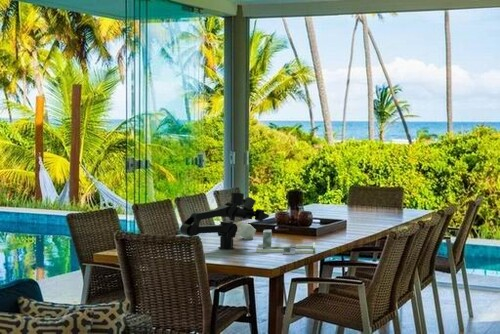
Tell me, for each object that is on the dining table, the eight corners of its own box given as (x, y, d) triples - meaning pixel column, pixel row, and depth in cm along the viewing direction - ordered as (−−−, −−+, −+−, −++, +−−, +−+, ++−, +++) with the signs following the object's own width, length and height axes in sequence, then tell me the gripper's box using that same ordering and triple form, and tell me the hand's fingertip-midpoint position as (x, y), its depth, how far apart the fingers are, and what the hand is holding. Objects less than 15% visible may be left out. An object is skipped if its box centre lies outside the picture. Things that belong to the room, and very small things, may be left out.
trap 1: (282, 254, 439) (282, 254, 439) (283, 252, 445) (283, 252, 445) (294, 254, 438) (294, 254, 438) (295, 253, 444) (295, 252, 444)
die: (250, 238, 499) (240, 224, 499) (261, 232, 494) (250, 217, 493) (244, 245, 492) (233, 231, 492) (254, 239, 487) (244, 224, 486)
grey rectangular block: (262, 251, 450) (263, 232, 449) (263, 248, 460) (264, 229, 459) (290, 252, 449) (290, 232, 448) (290, 249, 459) (290, 230, 458)
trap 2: (284, 247, 463) (284, 246, 463) (284, 245, 469) (284, 244, 469) (295, 247, 463) (295, 246, 463) (296, 245, 469) (296, 245, 469)
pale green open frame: (255, 252, 446) (256, 246, 446) (258, 246, 464) (258, 241, 464) (315, 253, 444) (315, 247, 444) (315, 248, 462) (315, 242, 462)
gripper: (253, 199, 453) (276, 201, 463) (232, 195, 468) (255, 198, 478) (250, 220, 453) (273, 222, 463) (229, 216, 468) (252, 218, 477)
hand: (263, 215), depth 470 cm, fingers open, 9 cm apart
